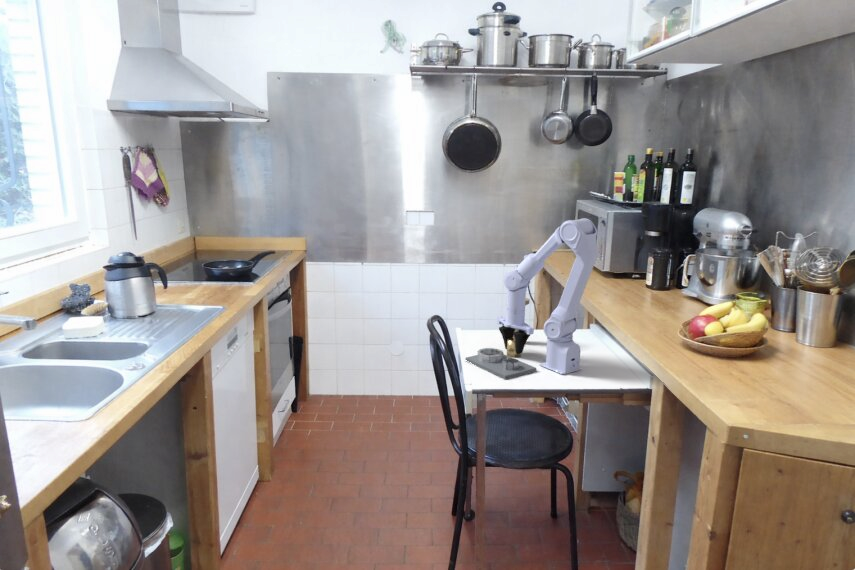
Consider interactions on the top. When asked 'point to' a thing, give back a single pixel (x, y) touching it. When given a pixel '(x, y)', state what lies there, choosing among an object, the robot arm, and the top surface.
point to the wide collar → (490, 355)
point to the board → (497, 367)
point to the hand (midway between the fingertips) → (513, 350)
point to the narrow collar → (510, 363)
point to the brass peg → (512, 348)
